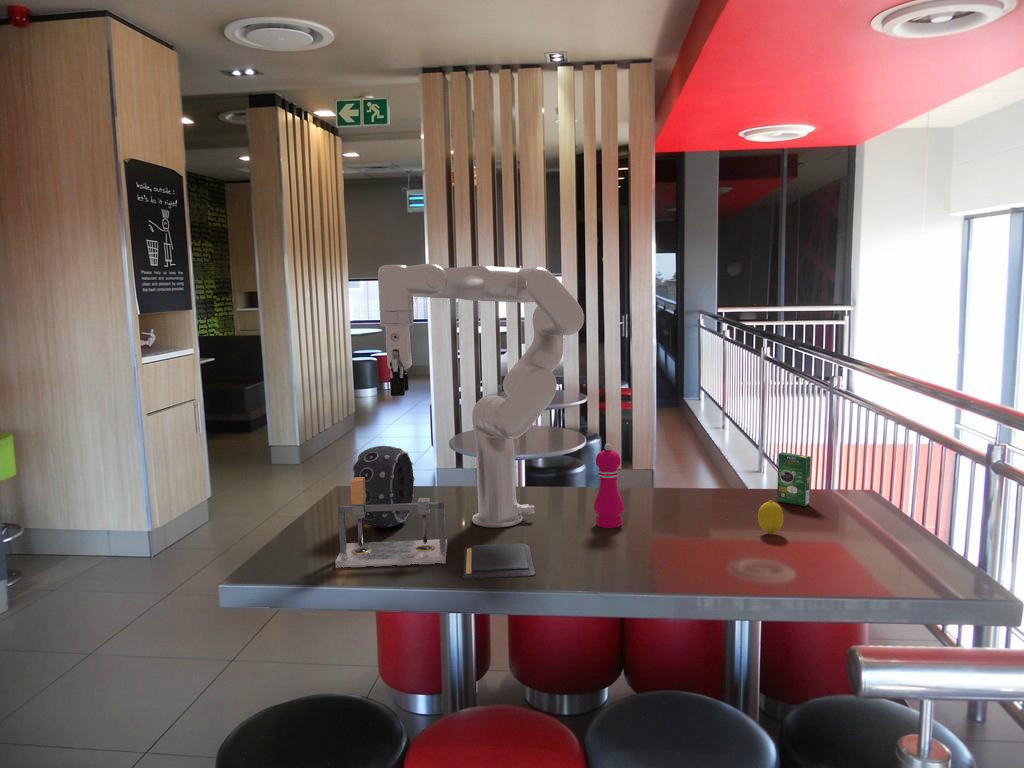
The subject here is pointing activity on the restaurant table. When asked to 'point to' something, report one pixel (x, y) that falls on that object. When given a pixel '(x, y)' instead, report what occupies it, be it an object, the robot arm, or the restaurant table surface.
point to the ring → (385, 483)
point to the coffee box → (793, 479)
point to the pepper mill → (608, 490)
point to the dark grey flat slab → (498, 561)
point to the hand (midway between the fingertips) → (399, 393)
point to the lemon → (770, 517)
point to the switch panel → (394, 550)
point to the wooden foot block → (358, 503)
